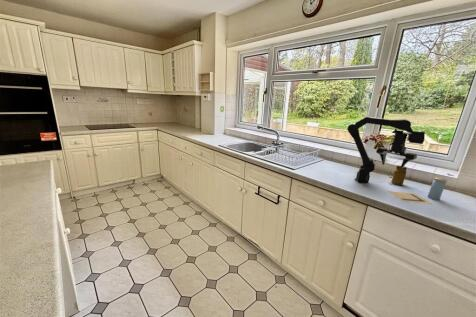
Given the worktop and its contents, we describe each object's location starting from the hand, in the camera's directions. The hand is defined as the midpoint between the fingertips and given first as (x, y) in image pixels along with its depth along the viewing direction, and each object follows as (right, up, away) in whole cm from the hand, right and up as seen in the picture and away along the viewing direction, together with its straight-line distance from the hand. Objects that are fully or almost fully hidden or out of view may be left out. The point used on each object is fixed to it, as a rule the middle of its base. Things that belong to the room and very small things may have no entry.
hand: (391, 166), depth 124 cm
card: (+2, -17, -10) cm, 20 cm away
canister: (+16, -17, -10) cm, 25 cm away
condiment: (+11, -12, +9) cm, 18 cm away
